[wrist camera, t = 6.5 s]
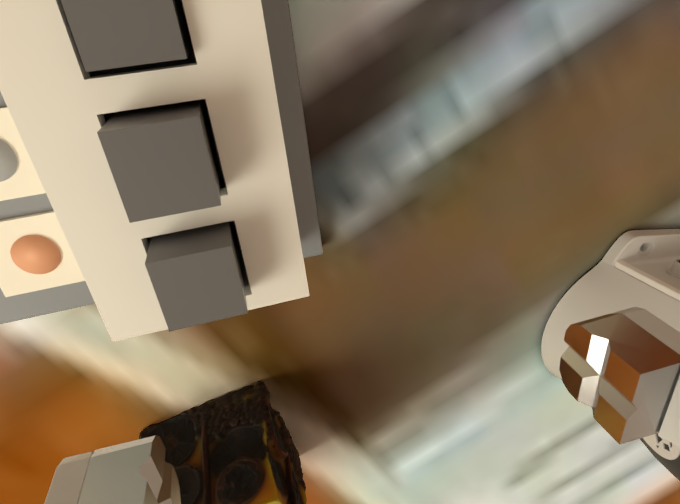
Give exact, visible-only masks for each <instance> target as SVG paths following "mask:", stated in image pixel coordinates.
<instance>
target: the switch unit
mask: <svg viewBox="0 0 680 504" xmlns="http://www.w3.org/2000/svg"><path fill="white" fill-rule="evenodd" d="M180 4H181V8H182V12H183V16H184V21H185V25H186V29H187V33H188V37H189V41H190V46H191V51H190V53H189V55H188V57H187V59H181V60H173V61H166V62H158V63H150V64H143V65H135V66H128V67H120V68H113V69H105V70H97V71H90V72H86V71H85V68H84V65H83V62H82V60H81V57H80V54H79V51H78V48H77V45H76V43H75V40H74V37H73V34H72V31H71V28H70V26H69V23H68V20H67V17H66V14H65V11H64V9H63V6H62V3H61V0H0V324H3V323H8V322H13V321H17V320H22V319H26V318H31V317H35V316H40V315H45V314H49V313H54V312H58V311H63V310H68V309H72V308H77V307H81V306H86V305H90V304H96V306H97V308H98V311H99V313H100V315H101V317H102V320H103V322H104V324H105V326H106V328H107V331H108V333H109V335H110V337H111V340H112V342H115V341H119V340H123V339H128V338H132V337H136V336H140V335H145V334H149V333H153V332H158V331H162V330H166V329H168V326H167V324H166V321H165V318H164V315H163V313H162V310H161V307H160V304H159V302H158V299H157V296H156V293H155V291H154V288H153V285H152V282H151V280H150V277H149V274H148V271H147V269H146V266H145V261H146V257H147V253H148V249H149V245H150V241H151V237H153V236H158V235H163V234H168V233H173V232H178V231H183V230H188V229H193V228H198V227H203V226H208V225H213V224H219V223H224V222H229V221H232V225H233V229H234V233H235V237H236V241H237V245H238V249H239V253H240V259H241V266H242V273H243V280H244V288H245V295H246V302H247V309H248V310H252V309H256V308H260V307H264V306H269V305H273V304H277V303H282V302H286V301H290V300H294V299H299V298H303V297H307V296H309V290H308V284H307V278H306V272H305V266H304V260H303V258H306V257H310V256H315V255H320V254H323V250H322V243H321V236H320V229H319V221H318V214H317V207H316V200H315V193H314V185H313V178H312V171H311V164H310V156H309V149H308V142H307V135H306V128H305V120H304V113H303V106H302V99H301V92H300V84H299V77H298V70H297V63H296V55H295V48H294V41H293V34H292V27H291V19H290V12H289V5H288V0H180ZM200 99H202V100H203V105H204V109H205V113H206V117H207V121H208V125H209V129H210V134H211V138H212V142H213V146H214V150H215V154H216V158H217V163H218V171H219V183H220V196H221V206H216V207H210V208H205V209H200V210H195V211H189V212H184V213H179V214H174V215H168V216H163V217H158V218H153V219H147V220H142V221H137V222H132V223H130V222H129V219H128V216H127V214H126V211H125V208H124V205H123V203H122V200H121V197H120V194H119V192H118V189H117V186H116V183H115V181H114V178H113V175H112V172H111V170H110V167H109V164H108V161H107V159H106V156H105V153H104V150H103V148H102V145H101V142H100V139H99V137H98V134H97V132H98V131H99V130H100V129H101V128H102V127H103V125H104V124H105V123H106V122H107V121H108V120H109V119H110V118H111V117H112V116H113V115H114V114H115V113H116V112H119V111H126V110H133V109H139V108H146V107H153V106H160V105H166V104H173V103H180V102H187V101H193V100H200Z"/></svg>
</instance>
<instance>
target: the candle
mask: <svg viewBox="0 0 680 504" xmlns="http://www.w3.org/2000/svg"><path fill="white" fill-rule="evenodd" d="M151 436H160V438H161V440H162V442H163V444H164V446H165V448H166V450H165V462H167V463H169V464H171V465H173V467H174V469H175V472H176V474H177V478H178V482H179V486H180V498H181V504H306V494H305V489H306V487H305V483H304V481H303V473H302V468H301V463H300V458H299V454H298V451H297V450H296V448H295V446H294V443H293V442H292V437H291V436H290V434H289V431H288V429H287V428H286V426H285V423H284V421H283V419H282V417H280V412H277V411H274V410H273V409H272V408H271V404H270V396H269V392H268V391H267V388H266V386H265V385H264V383H263V382H257V383H256V384H254V385H253V386H248V387H245V388H243V389H241V390H239V391H236V392H232V393H228V394H226V395H224V396H222V397H220V398H218V399H215V400H212V401H209V402H207V403H205V404H203V405H201V406H199V407H196V408H192V409H191V410H189V411H187V412H184V413H181V414H180V415H178V416H176V417H173V418H171V419H169V420H166V421H164V422H161V423H159V424H155V425H151V426H148V427H147V428H146V429H144V430H143V431H141V433H140V435H139V439H143V438H147V437H151Z"/></svg>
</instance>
